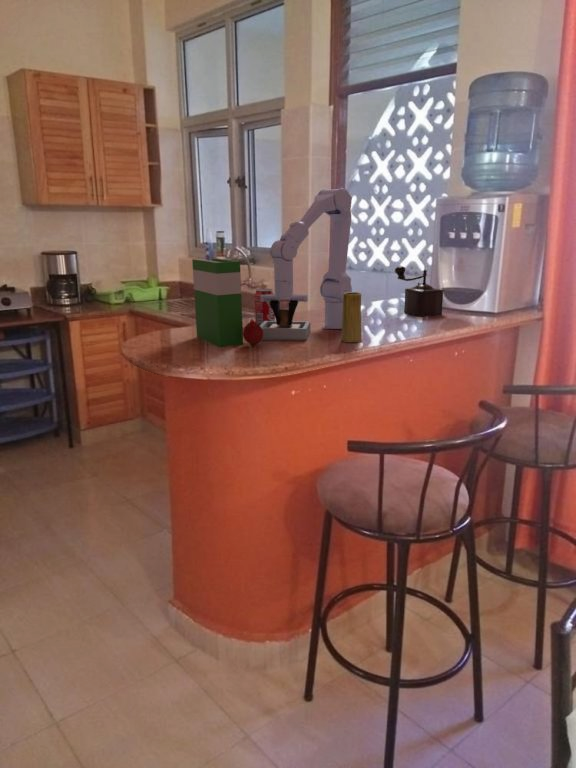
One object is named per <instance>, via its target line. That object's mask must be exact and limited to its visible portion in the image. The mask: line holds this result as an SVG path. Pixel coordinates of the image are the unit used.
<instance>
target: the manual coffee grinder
mask: <svg viewBox="0 0 576 768" xmlns="http://www.w3.org/2000/svg"><path fill="white" fill-rule="evenodd" d="M405 272H406V267H405V266H402V265H400V266H397V267H395V268H394V273H395V274H396V275H397V280H401V281H406V282H411V281H416V280H418V279H422V278H423V280H422V283H420V282H417V285H415V286H412V287H411V288H404V307H403V313H404V314H406V315H410V316H413V317H418V318H421V317H422V318H424V317H426V318H427V317H434V316H435V317H436V316H442V314H443V300H444V298H443V297H444V289H439V288H434V287H433V286H432V285H430V284H428V283H426V280H427V275H428V274H427V272H428V271H427V269H424V270H423V273H422V274H421V275H419V276H415V277H411V278H410V277H409V278H406V276H405Z"/></svg>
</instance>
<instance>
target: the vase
mask: <svg viewBox="0 0 576 768" xmlns="http://www.w3.org/2000/svg"><path fill="white" fill-rule="evenodd" d="M340 341H341V342H342V341H343V342H342V343H345V342H358V343H361V342H362V341H363V340H362V293H361V292H359V291H357V292H356V291H352V292H345V293H343V317H342V329H341V337H340ZM360 341H361V342H360Z"/></svg>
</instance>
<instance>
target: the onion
mask: <svg viewBox="0 0 576 768" xmlns="http://www.w3.org/2000/svg"><path fill="white" fill-rule="evenodd" d="M249 320H250V321H249V322H248V323H247V324H246V325H245V326H244V327H243V340H244V341H246V342H247V343H248V344H249V345H250V346H251V347H256V345H258V344H259V343H260V342H261V341H263V340H262V338H263V330H262V328H261V327H260V325H259V324H258V323H256V322H255V319H254V318H250V319H249Z"/></svg>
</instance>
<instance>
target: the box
mask: <svg viewBox="0 0 576 768" xmlns="http://www.w3.org/2000/svg"><path fill="white" fill-rule="evenodd" d="M260 327H261V328H262V330H263V338H262V340H261V341H298V342H299V341H301V342H302V341H303V342H304V341H305V340H306V341H308V337H309V336H310V334H311V321H309V320H307V321H306V320H305V321H303V320H292V325H290V328H280V325H277V322H276V320H275V321H264V322H263V323H262V324H261V325H260ZM306 341H305V342H306Z"/></svg>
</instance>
